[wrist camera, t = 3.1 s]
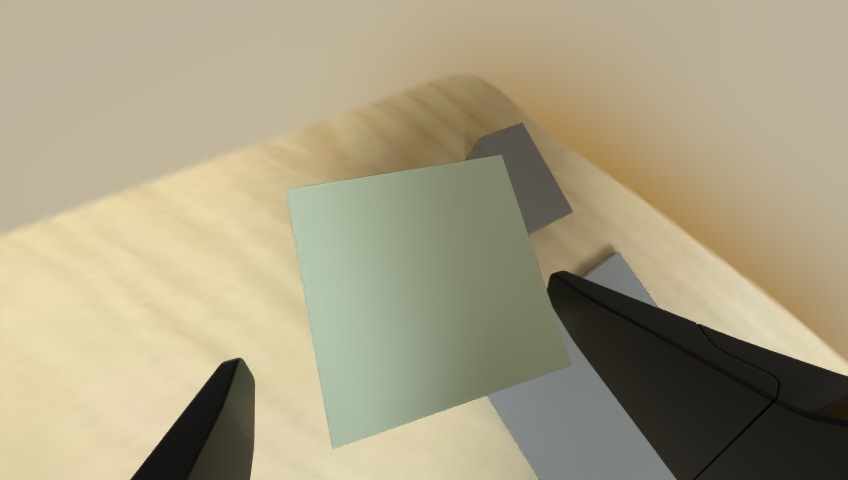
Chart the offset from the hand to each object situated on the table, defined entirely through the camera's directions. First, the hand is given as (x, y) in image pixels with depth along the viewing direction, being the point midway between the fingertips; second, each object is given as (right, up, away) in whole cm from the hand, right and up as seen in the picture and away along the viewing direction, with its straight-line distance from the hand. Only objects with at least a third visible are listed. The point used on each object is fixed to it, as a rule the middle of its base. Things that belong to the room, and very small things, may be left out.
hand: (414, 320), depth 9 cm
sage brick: (-2, -1, +8) cm, 9 cm away
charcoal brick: (+5, +5, +11) cm, 14 cm away
